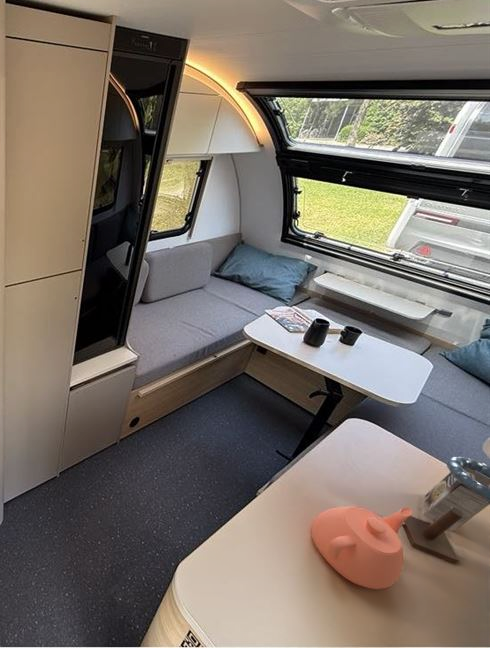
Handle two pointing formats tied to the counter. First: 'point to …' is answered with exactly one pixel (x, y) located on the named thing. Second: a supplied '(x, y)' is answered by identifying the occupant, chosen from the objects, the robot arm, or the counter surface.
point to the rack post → (433, 534)
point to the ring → (458, 472)
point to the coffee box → (455, 498)
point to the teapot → (361, 544)
